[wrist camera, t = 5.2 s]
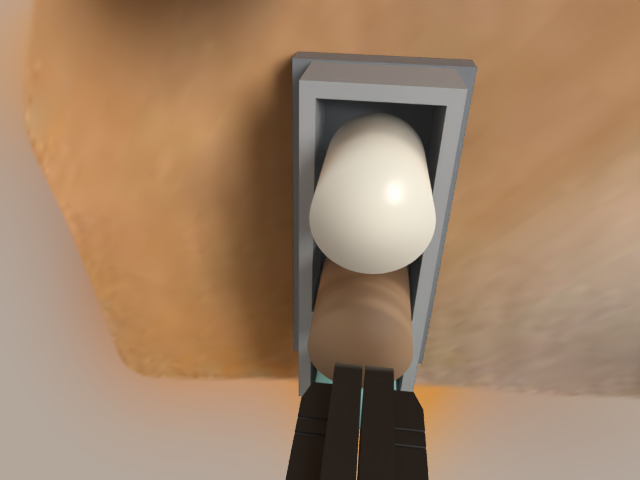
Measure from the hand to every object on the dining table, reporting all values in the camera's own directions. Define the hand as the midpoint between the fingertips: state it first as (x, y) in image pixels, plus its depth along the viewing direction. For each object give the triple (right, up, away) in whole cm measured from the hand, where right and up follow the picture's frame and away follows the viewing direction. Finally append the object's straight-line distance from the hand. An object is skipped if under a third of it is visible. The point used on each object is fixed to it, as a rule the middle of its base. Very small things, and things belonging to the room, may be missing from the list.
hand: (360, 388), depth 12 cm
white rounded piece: (+2, +8, +12) cm, 15 cm away
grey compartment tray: (+2, +5, +21) cm, 22 cm away
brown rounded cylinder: (+2, +2, +16) cm, 16 cm away
